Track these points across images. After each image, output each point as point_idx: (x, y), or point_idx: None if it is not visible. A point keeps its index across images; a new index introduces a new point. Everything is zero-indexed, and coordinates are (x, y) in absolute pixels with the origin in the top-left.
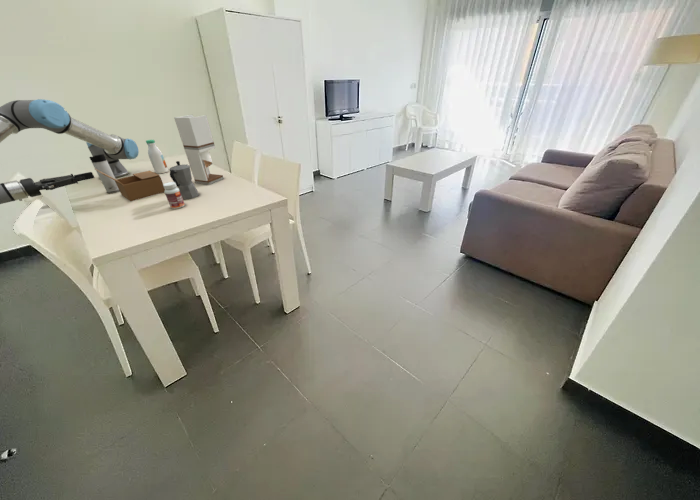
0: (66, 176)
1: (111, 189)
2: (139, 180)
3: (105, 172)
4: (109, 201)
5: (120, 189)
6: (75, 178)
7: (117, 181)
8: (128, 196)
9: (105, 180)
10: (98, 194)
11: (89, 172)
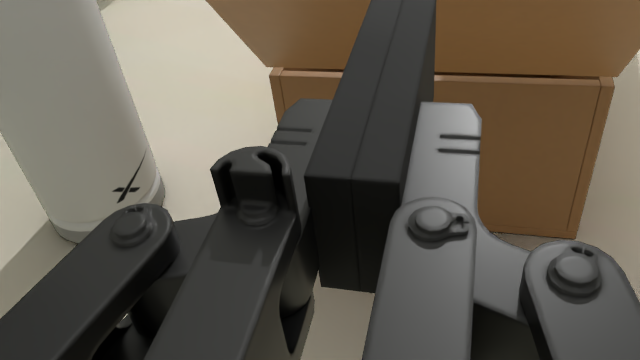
0: (122, 294)
1: (136, 195)
2: None
3: (84, 25)
4: (359, 333)
5: None
6: (486, 244)
7: (632, 52)
8: (585, 198)
9: (90, 121)
10: (9, 297)
11: (398, 10)
